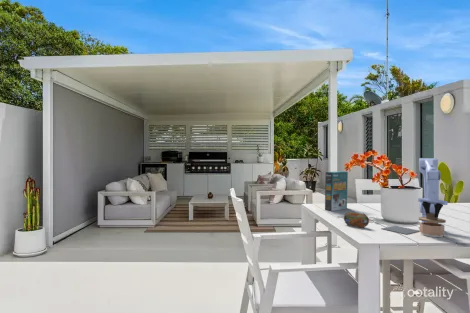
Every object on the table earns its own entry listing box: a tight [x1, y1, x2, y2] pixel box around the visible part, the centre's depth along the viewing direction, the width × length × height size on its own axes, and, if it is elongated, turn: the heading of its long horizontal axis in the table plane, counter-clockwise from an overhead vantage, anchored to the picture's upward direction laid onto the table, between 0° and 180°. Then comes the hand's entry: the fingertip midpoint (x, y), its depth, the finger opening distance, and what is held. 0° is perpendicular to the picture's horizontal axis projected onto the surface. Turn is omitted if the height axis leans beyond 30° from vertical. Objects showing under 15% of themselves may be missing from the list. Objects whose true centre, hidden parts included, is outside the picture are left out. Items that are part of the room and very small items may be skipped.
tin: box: [343, 211, 370, 229], centre depth 200 cm, size 15×3×8 cm, turn 45°
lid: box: [418, 213, 447, 224], centre depth 181 cm, size 13×13×4 cm
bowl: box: [419, 221, 445, 238], centre depth 181 cm, size 11×11×6 cm
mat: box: [381, 225, 421, 236], centre depth 191 cm, size 15×15×1 cm
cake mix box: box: [324, 170, 349, 212], centre depth 262 cm, size 22×6×30 cm, turn 130°
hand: (432, 216), depth 181 cm, fingers closed on lid, 4 cm apart
